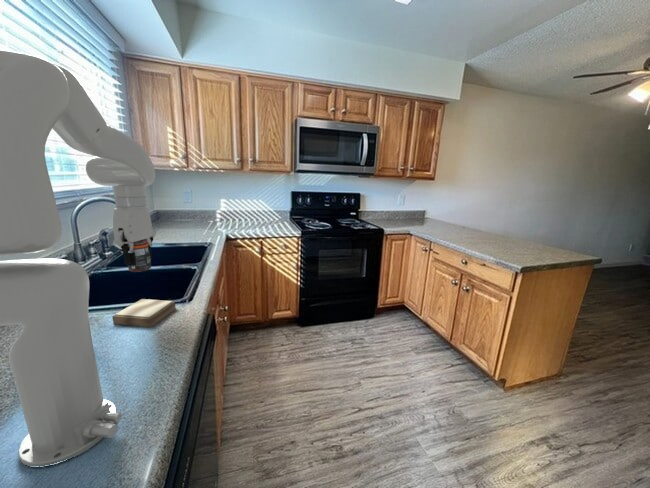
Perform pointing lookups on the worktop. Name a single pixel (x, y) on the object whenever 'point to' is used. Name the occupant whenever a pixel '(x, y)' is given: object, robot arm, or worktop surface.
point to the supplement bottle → (141, 256)
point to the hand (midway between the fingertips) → (139, 261)
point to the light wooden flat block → (144, 313)
